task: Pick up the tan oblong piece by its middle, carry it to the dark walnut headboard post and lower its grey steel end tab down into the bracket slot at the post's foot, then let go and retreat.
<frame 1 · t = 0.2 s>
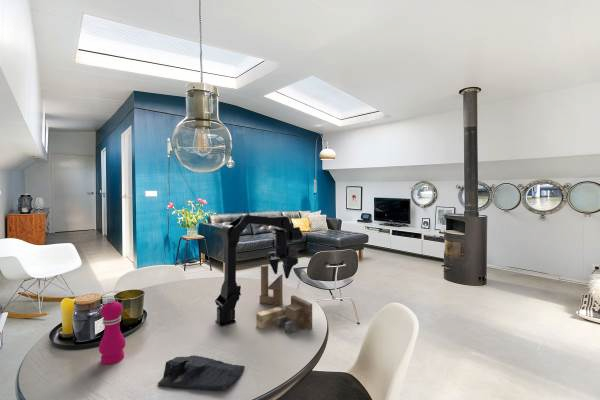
hand: (281, 276, 139), 14 cm above the table, fingers open, 9 cm apart
wooden block: (271, 303, 144), on the table
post: (294, 326, 118), on the table
tan oblong piece: (270, 323, 122), on the table
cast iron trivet: (203, 377, 87), on the table
pepper mill: (112, 359, 95), on the table
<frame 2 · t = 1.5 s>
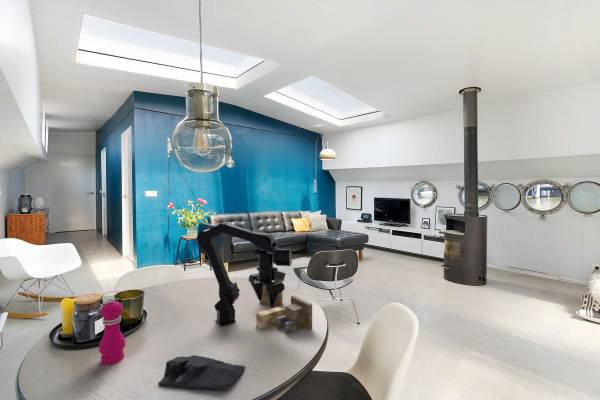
hand: (265, 303, 120), 9 cm above the table, fingers open, 9 cm apart
nothing on the table moved.
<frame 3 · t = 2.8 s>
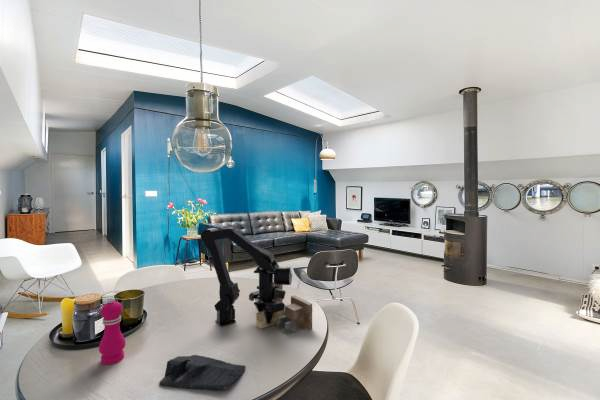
hand: (266, 322, 120), 1 cm above the table, fingers closed on tan oblong piece, 3 cm apart
tan oblong piece: (270, 323, 122), on the table, touching gripper
everything else where it was.
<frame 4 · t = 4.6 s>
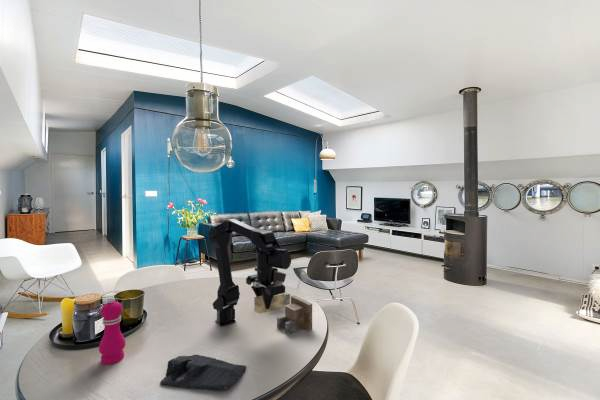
hand: (264, 307, 110), 11 cm above the table, fingers closed on tan oblong piece, 3 cm apart
tan oblong piece: (269, 308, 111), point 10 cm above the table, touching gripper
everything else where it was.
when the fingers open (2 cm above the table, at t = 6.5 s): tan oblong piece stays where it is, on the table.
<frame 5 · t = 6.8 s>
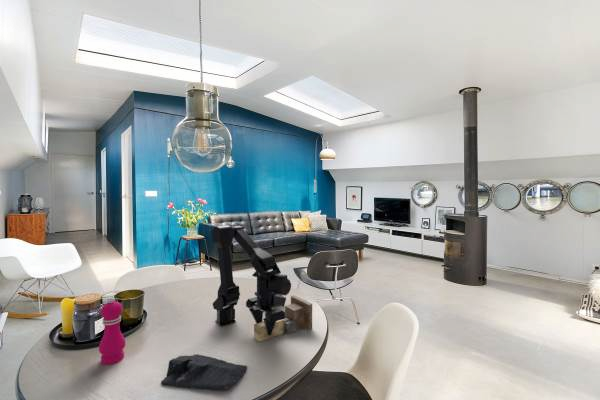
hand: (264, 331, 110), 2 cm above the table, fingers open, 7 cm apart
tan oblong piece: (269, 335, 111), on the table
everything else where it was.
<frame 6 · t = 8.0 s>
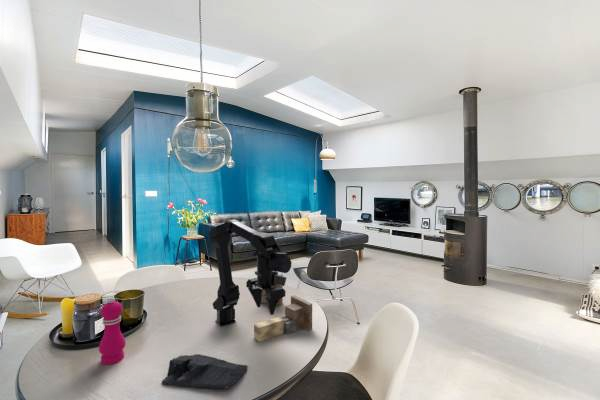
hand: (265, 310, 110), 10 cm above the table, fingers open, 9 cm apart
nothing on the table moved.
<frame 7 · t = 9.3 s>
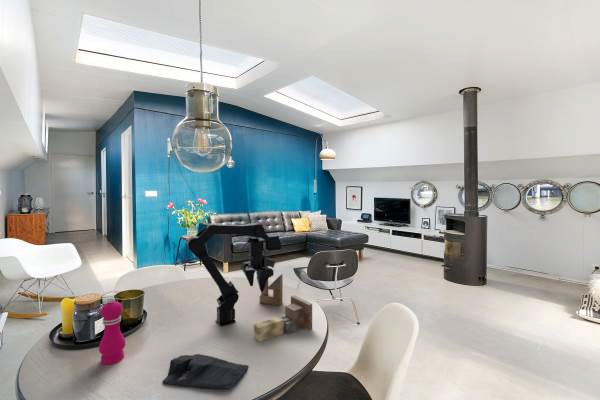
hand: (256, 288, 128), 12 cm above the table, fingers open, 9 cm apart
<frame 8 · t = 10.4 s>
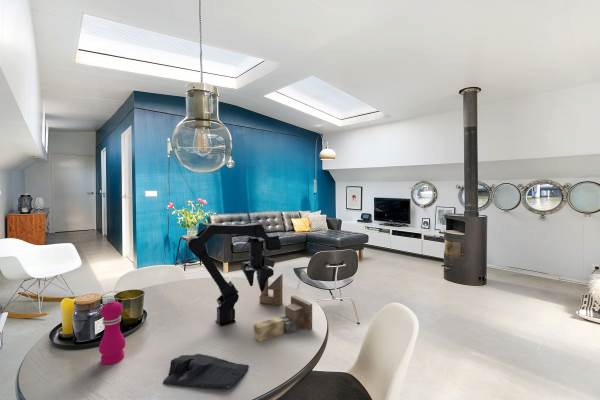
hand: (256, 288, 128), 12 cm above the table, fingers open, 9 cm apart
at the end: tan oblong piece 0.3 cm from the target spot on the table beside the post, on the table; tan oblong piece tilted 0°; the gripper is holding nothing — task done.
